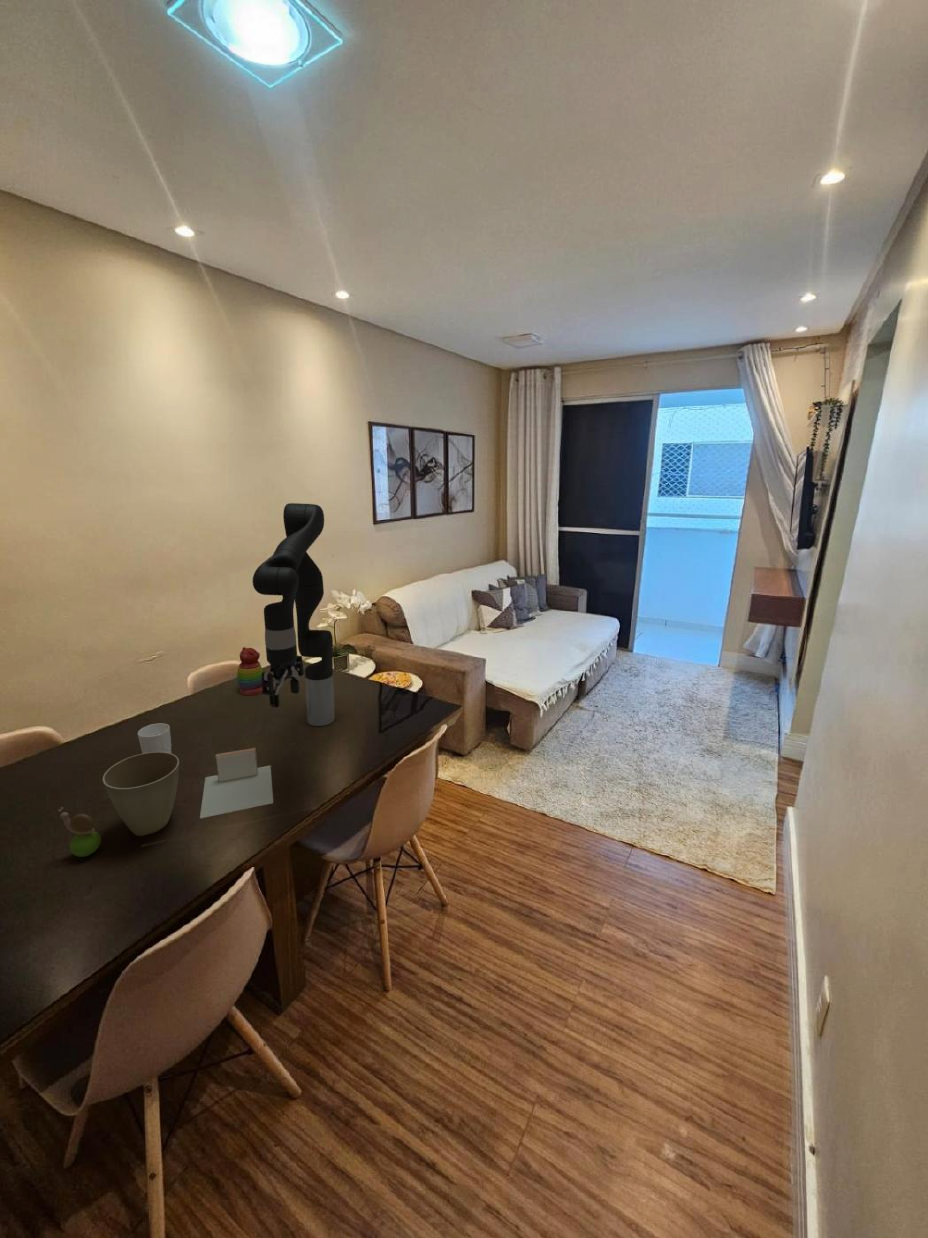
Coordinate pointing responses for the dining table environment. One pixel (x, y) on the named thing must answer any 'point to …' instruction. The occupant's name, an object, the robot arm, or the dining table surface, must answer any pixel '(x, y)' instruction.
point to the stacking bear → (250, 672)
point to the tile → (236, 764)
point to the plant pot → (143, 790)
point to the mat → (236, 793)
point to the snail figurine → (81, 834)
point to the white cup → (155, 738)
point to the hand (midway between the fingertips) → (285, 699)
